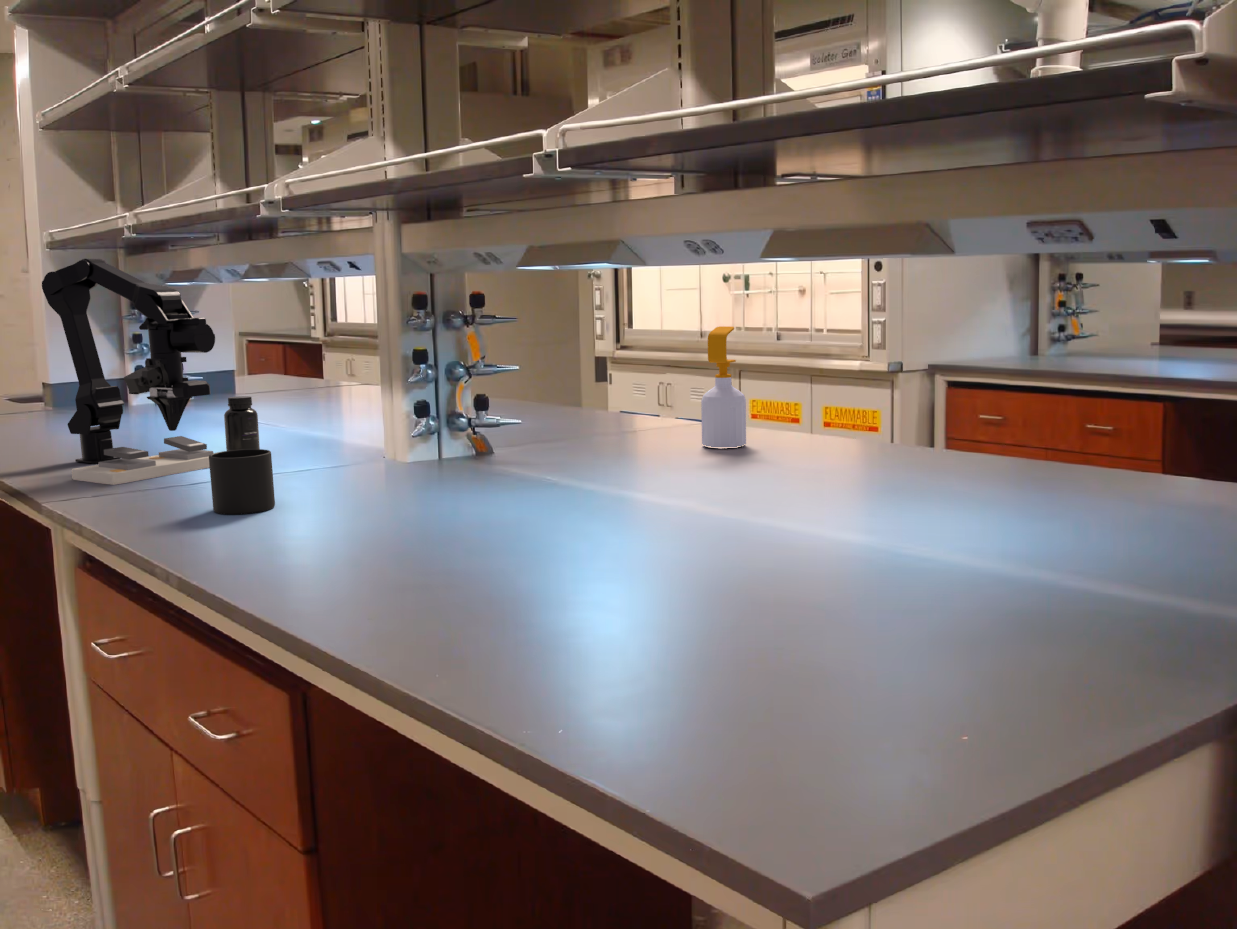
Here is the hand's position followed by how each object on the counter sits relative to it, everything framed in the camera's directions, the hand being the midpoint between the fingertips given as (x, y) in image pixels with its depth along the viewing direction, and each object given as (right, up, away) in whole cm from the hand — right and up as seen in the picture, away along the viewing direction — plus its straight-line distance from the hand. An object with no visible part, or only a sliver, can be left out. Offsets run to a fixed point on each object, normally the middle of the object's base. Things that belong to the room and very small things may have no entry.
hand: (172, 430), depth 227 cm
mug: (+29, -14, -45) cm, 55 cm away
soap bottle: (+111, -3, +7) cm, 111 cm away
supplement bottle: (+9, -5, +15) cm, 18 cm away
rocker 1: (-4, -5, -12) cm, 14 cm away
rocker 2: (+3, -3, -1) cm, 5 cm away
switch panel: (-1, -8, -7) cm, 11 cm away
